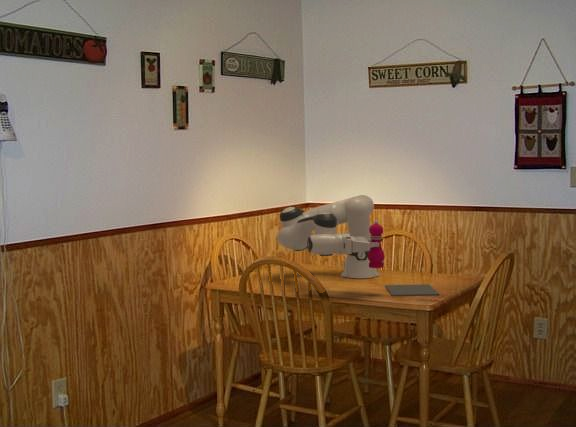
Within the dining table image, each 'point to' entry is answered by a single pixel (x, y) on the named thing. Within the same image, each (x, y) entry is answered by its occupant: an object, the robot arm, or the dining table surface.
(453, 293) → the dining table surface
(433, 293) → the mat
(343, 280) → the dining table surface
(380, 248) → the pepper mill
